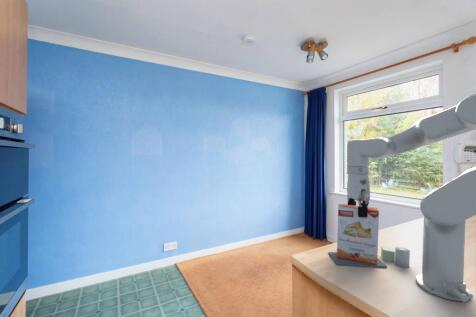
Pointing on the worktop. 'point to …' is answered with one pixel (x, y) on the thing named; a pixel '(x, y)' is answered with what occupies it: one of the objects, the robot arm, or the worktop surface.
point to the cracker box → (357, 234)
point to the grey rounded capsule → (402, 257)
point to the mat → (354, 262)
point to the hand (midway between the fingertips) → (356, 213)
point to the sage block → (388, 253)
